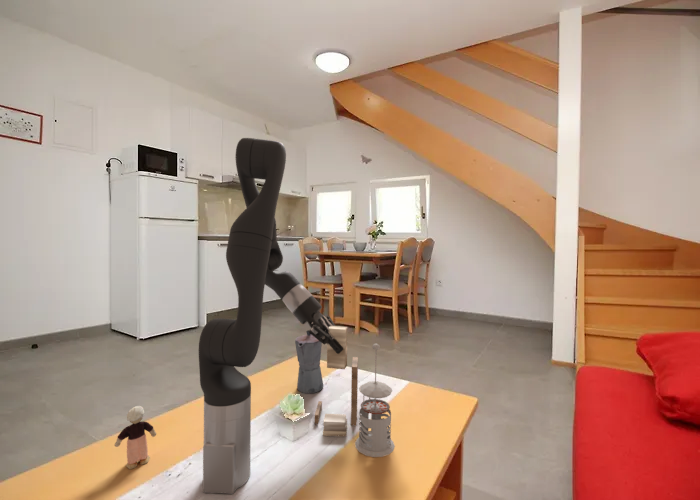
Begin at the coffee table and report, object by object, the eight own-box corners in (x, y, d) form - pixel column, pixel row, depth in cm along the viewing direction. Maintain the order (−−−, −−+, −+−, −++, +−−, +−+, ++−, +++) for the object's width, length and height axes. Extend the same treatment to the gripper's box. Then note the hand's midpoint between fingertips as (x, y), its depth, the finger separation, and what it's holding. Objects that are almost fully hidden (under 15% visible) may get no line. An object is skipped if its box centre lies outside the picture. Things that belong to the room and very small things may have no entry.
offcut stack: (346, 436, 86) (346, 422, 86) (322, 435, 86) (323, 421, 86) (347, 427, 90) (347, 414, 90) (324, 426, 91) (325, 413, 91)
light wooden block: (344, 369, 92) (345, 329, 92) (326, 367, 93) (327, 328, 93) (346, 365, 95) (347, 326, 95) (329, 363, 96) (330, 325, 96)
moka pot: (286, 395, 109) (287, 333, 109) (306, 377, 124) (307, 323, 123) (314, 399, 106) (314, 336, 106) (330, 380, 121) (331, 325, 121)
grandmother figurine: (151, 452, 79) (151, 398, 78) (157, 458, 76) (157, 403, 76) (112, 468, 73) (112, 410, 72) (118, 476, 70) (118, 416, 70)
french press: (361, 460, 77) (363, 351, 76) (348, 432, 88) (349, 337, 87) (401, 453, 79) (402, 348, 79) (383, 427, 91) (384, 335, 90)
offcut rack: (356, 425, 91) (357, 367, 91) (314, 424, 92) (315, 365, 91) (357, 410, 99) (357, 357, 99) (318, 409, 100) (319, 356, 99)
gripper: (302, 298, 89) (346, 348, 86) (318, 291, 102) (357, 334, 100) (283, 317, 90) (326, 367, 87) (301, 307, 104) (339, 350, 101)
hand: (342, 349), depth 94 cm, fingers closed on light wooden block, 3 cm apart
